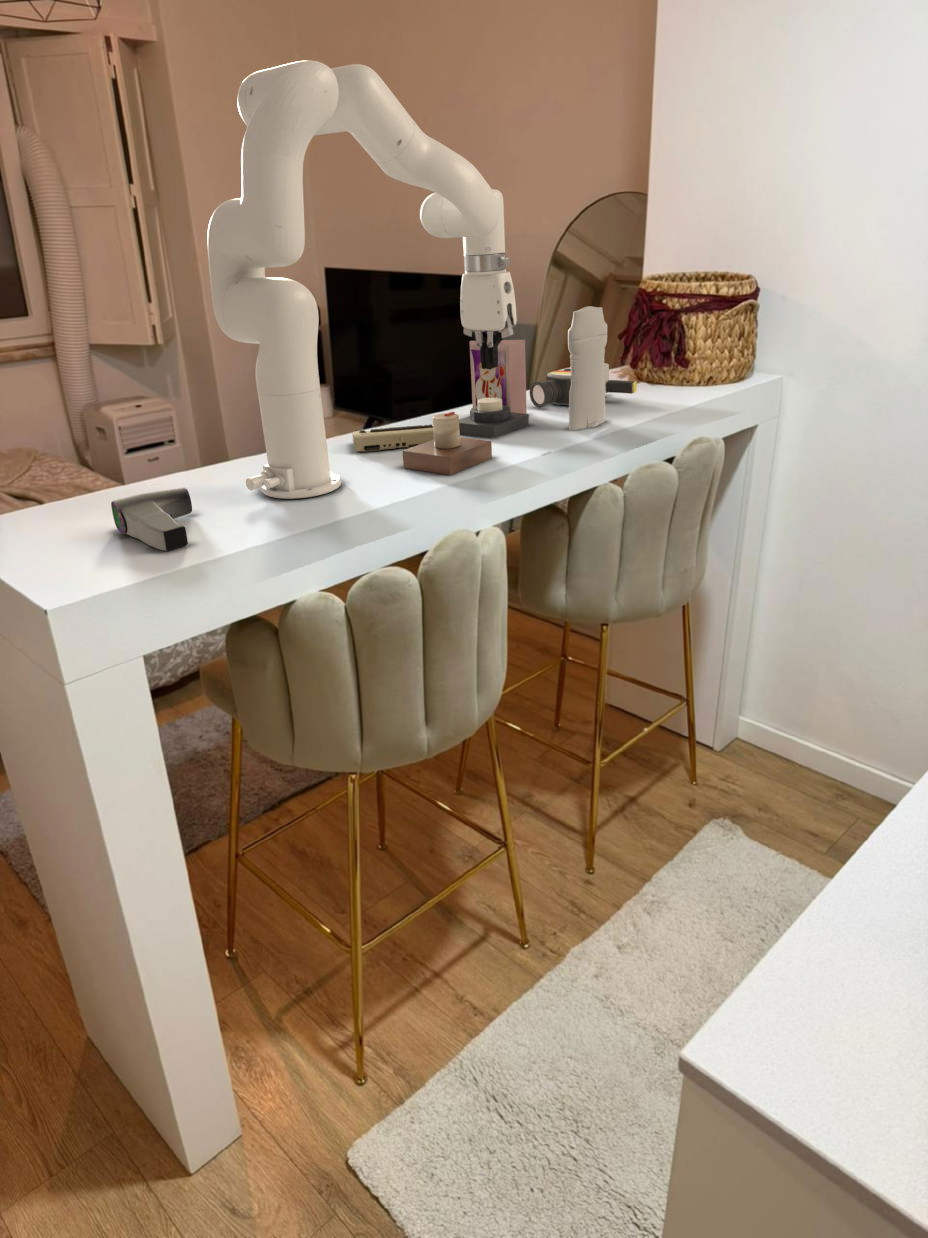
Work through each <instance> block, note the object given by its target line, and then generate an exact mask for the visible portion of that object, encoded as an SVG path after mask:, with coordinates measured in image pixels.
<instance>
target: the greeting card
mask: <svg viewBox="0 0 928 1238" xmlns="http://www.w3.org/2000/svg"><path fill="white" fill-rule="evenodd" d="M469 359H470V361H469V362H470V375H471V376H470V380H471V400H472V401H471V402H472V404H471V405H472V408H473V407H476V406H478V405H477V401H478V400H479V399H483V398H500V399H502V405H506V406H508V407H510V412H512V413H522V414H528V412H527V369H526V368H527V367H526V366H527V365H526V363H527V362H526V339H503V340H502V341H501V342H500V345H498V366H497V367H496V368H492V369H482V367H481V358H480V347H478V346H477V342H476V341H475V340H469Z"/></svg>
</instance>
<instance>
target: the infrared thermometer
mask: <svg viewBox="0 0 928 1238" xmlns="http://www.w3.org/2000/svg"><path fill="white" fill-rule="evenodd" d="M110 506H111V512H112V516H113V517H112V518H113V521H114V522H113V523H114V525H115V526H116V530H117V531H118V532H119V533H120V534H121V535H129V536H130V537H133V538H136V539H139V541H141V542H143V543H145V544H146V545H148V546H151V547H153V548H155V549H157V550H160V551H164V552H168V551H169V552H170V551H172V550H176V549H179V548H182V547H185V546H187V545H188V544H189V541H188V535H187V529H186V526H184V525H181V524H179V523H178V522H176V520H175V519H179V518H181V517H184V516H187V515H189V514H191V513H192V512H193V504H192V499H191V495H190V492H189V490H188V488H185V487H181V488H180V487H179V488H173V489H165V490H159V491H158V490H157V491H149V492H143V493H139V494H135V495H130V496H127V497H123V498H118V499H115V500H112V501H111V503H110Z"/></svg>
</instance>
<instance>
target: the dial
mask: <svg viewBox="0 0 928 1238" xmlns="http://www.w3.org/2000/svg"><path fill="white" fill-rule="evenodd" d="M459 419H460V416H459V414H458V413H456V411H449V412H446V413H444V412H443V413H438V414H435V415H433V416H432V426H433V432H434V446H435V447H436V448H443V449H447V448H455V447H458V446H460V437H461V434H460V431H459Z"/></svg>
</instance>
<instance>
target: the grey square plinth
mask: <svg viewBox="0 0 928 1238" xmlns="http://www.w3.org/2000/svg"><path fill="white" fill-rule="evenodd" d="M529 420H530V417H529V414H528V413H527V414H522V413H512V412H510V407H508V406H506V405H502V410H500V411H493V412H482V411H478V406H476V407H473V406H472V407H471V408H470V409H469V415H468V416H465V417H462V418H459V431H460V435H465V436H474V437H480V438H481V437H482V438H491V439H496V438H498V437H500V436H501V437H502V436H504V435H506V434H509V433H512V432H514V431H516V430H520V429H522V428H525V427H527V426H529V425H530V421H529Z"/></svg>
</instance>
